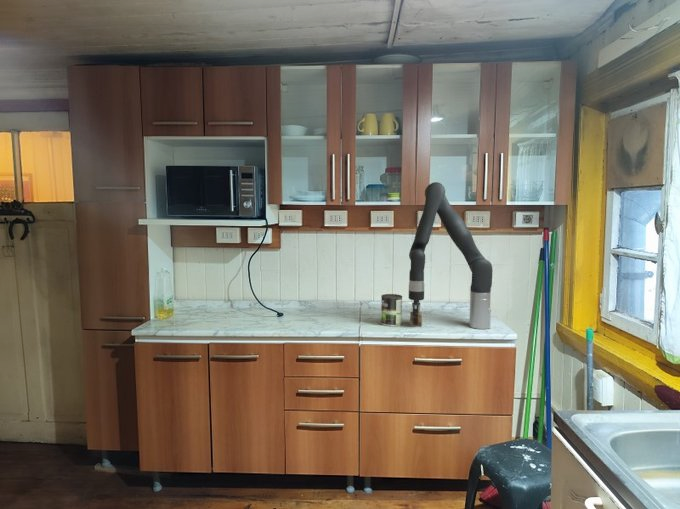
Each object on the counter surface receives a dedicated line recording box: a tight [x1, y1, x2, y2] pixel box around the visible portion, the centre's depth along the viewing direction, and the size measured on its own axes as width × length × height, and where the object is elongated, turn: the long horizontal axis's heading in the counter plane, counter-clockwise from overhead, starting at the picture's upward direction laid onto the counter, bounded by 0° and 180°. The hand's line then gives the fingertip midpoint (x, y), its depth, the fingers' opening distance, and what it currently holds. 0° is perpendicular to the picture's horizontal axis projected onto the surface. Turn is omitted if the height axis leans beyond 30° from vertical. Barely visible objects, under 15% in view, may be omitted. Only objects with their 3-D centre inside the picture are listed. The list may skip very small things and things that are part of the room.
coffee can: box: [380, 293, 403, 327], centre depth 209 cm, size 10×10×14 cm
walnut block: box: [409, 311, 423, 328], centre depth 207 cm, size 6×6×6 cm
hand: (415, 322), depth 207 cm, fingers open, 7 cm apart
